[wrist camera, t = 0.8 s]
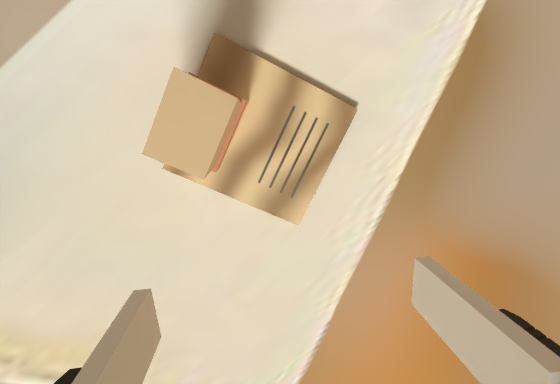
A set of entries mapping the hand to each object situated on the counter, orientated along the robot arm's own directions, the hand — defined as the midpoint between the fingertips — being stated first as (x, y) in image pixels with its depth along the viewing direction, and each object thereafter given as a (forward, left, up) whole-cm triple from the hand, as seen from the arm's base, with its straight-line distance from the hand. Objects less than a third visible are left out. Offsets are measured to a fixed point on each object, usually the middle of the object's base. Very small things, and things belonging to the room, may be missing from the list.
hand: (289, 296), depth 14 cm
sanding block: (-9, +4, -21) cm, 24 cm away
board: (-3, +5, -22) cm, 23 cm away
